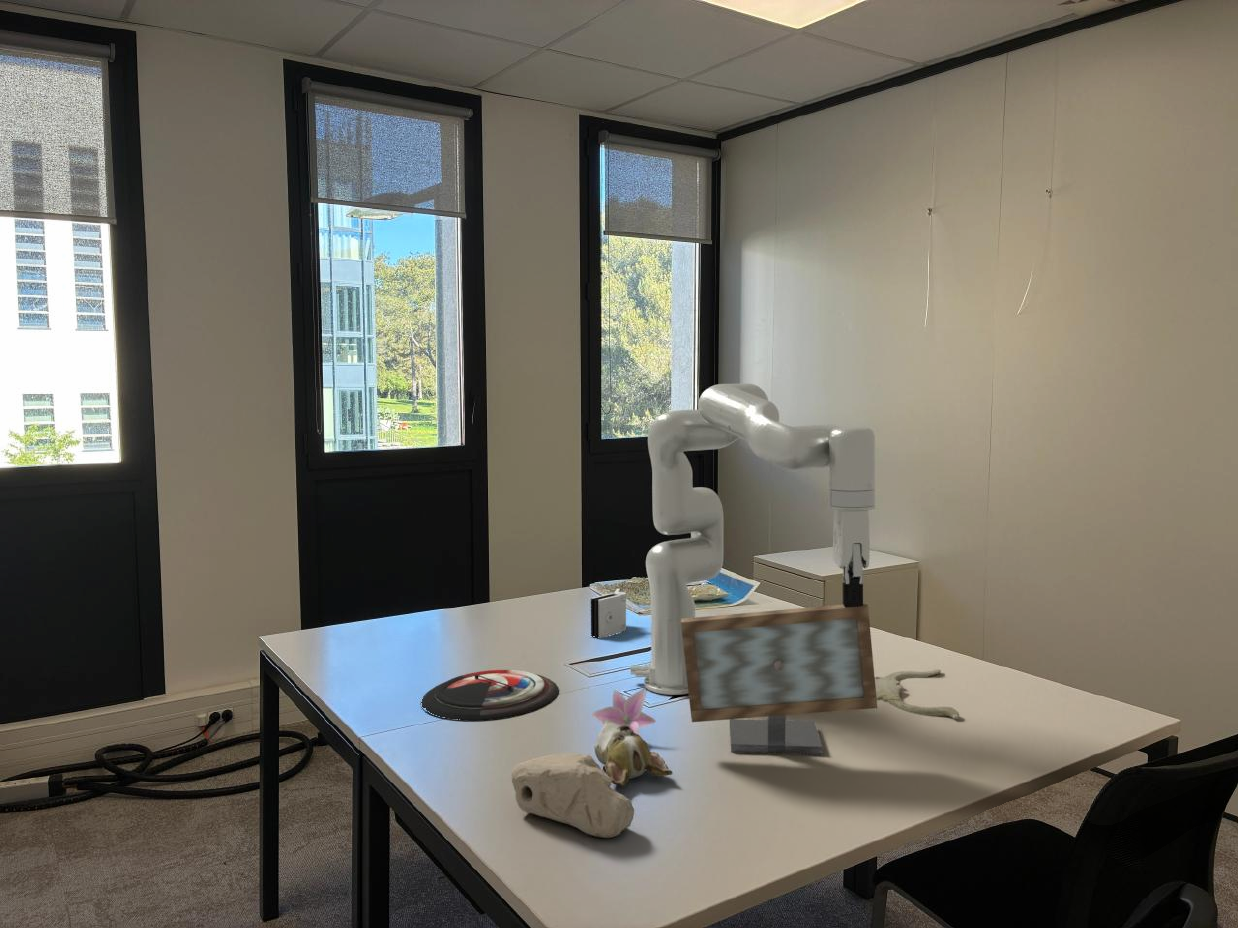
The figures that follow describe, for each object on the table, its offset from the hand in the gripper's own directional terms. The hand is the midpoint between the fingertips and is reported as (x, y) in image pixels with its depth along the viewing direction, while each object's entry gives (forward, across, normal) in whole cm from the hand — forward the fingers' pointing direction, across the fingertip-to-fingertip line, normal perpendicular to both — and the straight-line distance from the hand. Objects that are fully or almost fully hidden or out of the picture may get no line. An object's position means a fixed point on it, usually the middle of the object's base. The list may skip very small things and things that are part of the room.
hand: (852, 605), depth 160 cm
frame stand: (+27, -8, -13) cm, 31 cm away
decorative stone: (+27, +24, -46) cm, 59 cm away
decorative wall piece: (+28, -37, +10) cm, 47 cm away
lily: (+27, -7, -40) cm, 49 cm away
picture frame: (+19, -1, -12) cm, 22 cm away
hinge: (+25, -78, -50) cm, 96 cm away
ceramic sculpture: (+27, +8, -39) cm, 48 cm away
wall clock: (+26, -28, -70) cm, 80 cm away
